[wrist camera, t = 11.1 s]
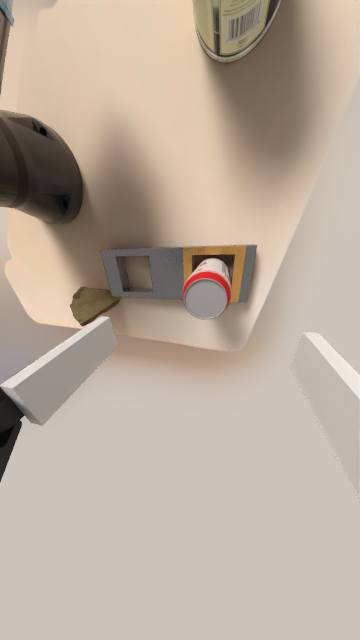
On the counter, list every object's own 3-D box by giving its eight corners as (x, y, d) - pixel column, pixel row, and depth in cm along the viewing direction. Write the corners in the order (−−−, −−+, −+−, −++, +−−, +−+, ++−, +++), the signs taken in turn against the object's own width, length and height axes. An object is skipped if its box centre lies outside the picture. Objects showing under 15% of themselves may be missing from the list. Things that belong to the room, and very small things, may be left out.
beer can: (192, 281, 34) (172, 312, 20) (204, 251, 31) (189, 264, 17) (219, 292, 33) (217, 331, 20) (233, 263, 30) (243, 286, 17)
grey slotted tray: (119, 292, 39) (111, 296, 37) (109, 249, 35) (99, 250, 32) (245, 297, 33) (247, 303, 30) (253, 244, 28) (257, 245, 25)
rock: (68, 300, 42) (94, 327, 42) (45, 293, 33) (78, 327, 34) (100, 274, 43) (125, 301, 44) (86, 261, 35) (117, 295, 35)
